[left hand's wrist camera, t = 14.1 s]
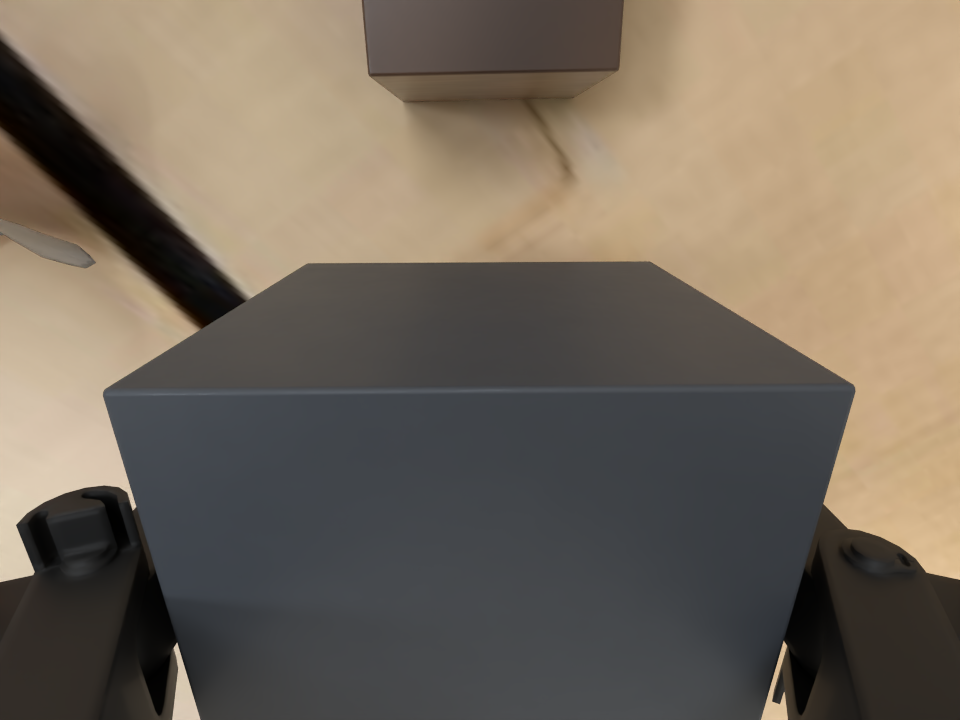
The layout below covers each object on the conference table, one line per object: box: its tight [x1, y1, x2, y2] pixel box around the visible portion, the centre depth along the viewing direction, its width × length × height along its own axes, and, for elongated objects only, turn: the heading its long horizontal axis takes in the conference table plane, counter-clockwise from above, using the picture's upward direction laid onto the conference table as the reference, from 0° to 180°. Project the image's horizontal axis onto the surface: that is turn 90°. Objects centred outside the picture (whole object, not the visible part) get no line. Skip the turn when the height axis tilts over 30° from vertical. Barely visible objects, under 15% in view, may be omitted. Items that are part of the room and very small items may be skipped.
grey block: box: [103, 262, 855, 720], centre depth 10 cm, size 8×8×7 cm
